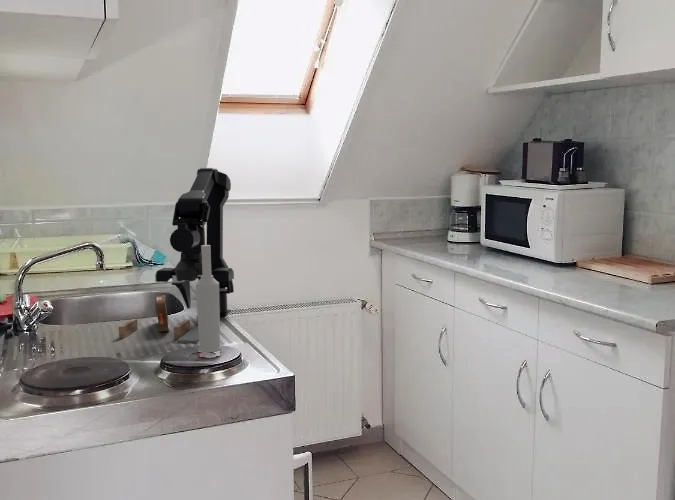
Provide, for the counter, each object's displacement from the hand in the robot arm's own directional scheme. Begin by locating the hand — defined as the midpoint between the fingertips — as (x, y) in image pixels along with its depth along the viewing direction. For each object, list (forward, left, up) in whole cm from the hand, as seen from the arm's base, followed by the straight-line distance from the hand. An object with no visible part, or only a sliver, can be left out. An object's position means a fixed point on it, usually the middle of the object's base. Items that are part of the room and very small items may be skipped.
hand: (196, 308), depth 176 cm
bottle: (+19, +9, -7) cm, 22 cm away
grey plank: (0, 0, -7) cm, 7 cm away
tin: (-6, -11, -7) cm, 15 cm away
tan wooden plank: (0, -11, -7) cm, 13 cm away
